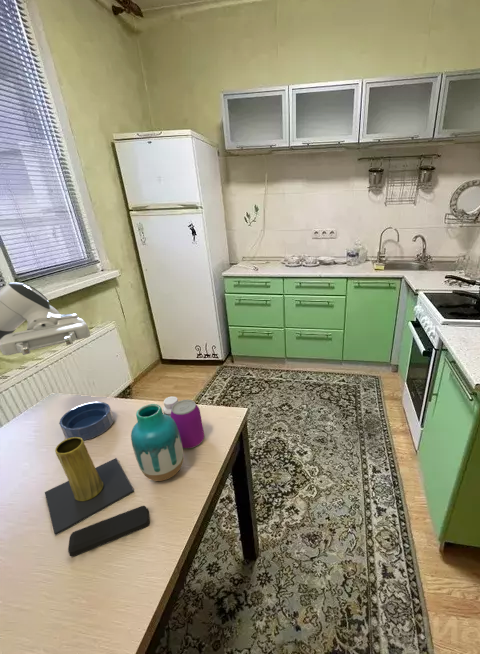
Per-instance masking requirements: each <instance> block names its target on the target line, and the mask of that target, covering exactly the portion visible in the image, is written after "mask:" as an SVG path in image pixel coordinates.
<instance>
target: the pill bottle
mask: <svg viewBox="0 0 480 654" xmlns="http://www.w3.org/2000/svg"><path fill="white" fill-rule="evenodd" d="M177 402H179V398H178V397H177V396H167V397H165V398H164V400H163V406H164V407H162V412H163V414H165V415H168V416H170V415H171V411H172V406H173V405H174V404H175V403H177ZM170 417H171V416H170Z"/></svg>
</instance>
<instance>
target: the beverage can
mask: <svg viewBox="0 0 480 654" xmlns="http://www.w3.org/2000/svg"><path fill="white" fill-rule="evenodd" d="M170 416H171V418H172V419H173V420H174V421H175V423H176V425H177V427H178V430H179V434H180V438H181V442H182V447H183V449H193V448H196V447H198V446H199V445H200V444H201V443H202V442H203V441H204V439H205V431H204V426H203V421H202V415H201V410H200V408H199V406H198V405H197V404H196V402H195V401H194V400H192V399H182V400H178V402H177V403H175V404H174V405H173V406H172V411H171V415H170Z"/></svg>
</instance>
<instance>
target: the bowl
mask: <svg viewBox="0 0 480 654" xmlns="http://www.w3.org/2000/svg"><path fill="white" fill-rule="evenodd" d="M114 421H115V418H114V415H113V412H112V408H111V406H110V405H109V403H106V402H105V401H104V402H103V401H91V402H87V403H83V404H80V405H77V406H75V407H73V408H71V409H69V410H68V411H67V412H65V413H64V414H63V415H62V416H61V418H60V420H59V423H58V424H59V426H60V429H61V431H62V433H63V435H64V437H65V439H68V438H72V437H80V438H82V439H83V441H86V440H90V439H93V438H95V437H98V436H100V435H101V434H103V433H105V432H107V430H109V429H110V428H111V426H112V425H113V423H114Z"/></svg>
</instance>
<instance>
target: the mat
mask: <svg viewBox="0 0 480 654" xmlns="http://www.w3.org/2000/svg"><path fill="white" fill-rule="evenodd" d="M95 468H96V470H97V472H98V474H99V476H100V479H101V480H102V482H103V489H102V490H101V492H100V493H99V494H98V495H97V496H95V497H94V498H92V499H90V500H87V501H78V500H76V499H75V498H74V494H73V491H72V489H71V486H70V483H69V481H68V480H67V481H65V482H62V483H61V484H58V485H56V486H55V487H52V488H50V489H48V490H46V491H44V495H45V499H46V504H47V507H48V512H49V516H50V520H51V525H52V528H53V533H54V535H55V536H57V535H60V534H61V533H63V532H65V531H66V530H68V529H70V528H72V527H74V526H75V525H77V524H79V523H81V522H83V521H84V520H86V519H88V518H90V517H91V516H93V515H95V514H98V513H99V512H101V511H102V510H104V509H106V508H107V507H110V506H112V505H114V504H115V503H117V502H119V501H120V500H122V499H124V498H126V497H128V496H129V495H132V494H133V493H135V490H134V488H133V486H132V485H131V483H130V481H129V479H128V477H127V475H126V474H125V472H124V470H123V468H122V466H121V464H120V462H119V460H118V459H117V457H115V458H113V459H111V460H108V461H107V462H104V463H103V464H100V465H98V466H95Z"/></svg>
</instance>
